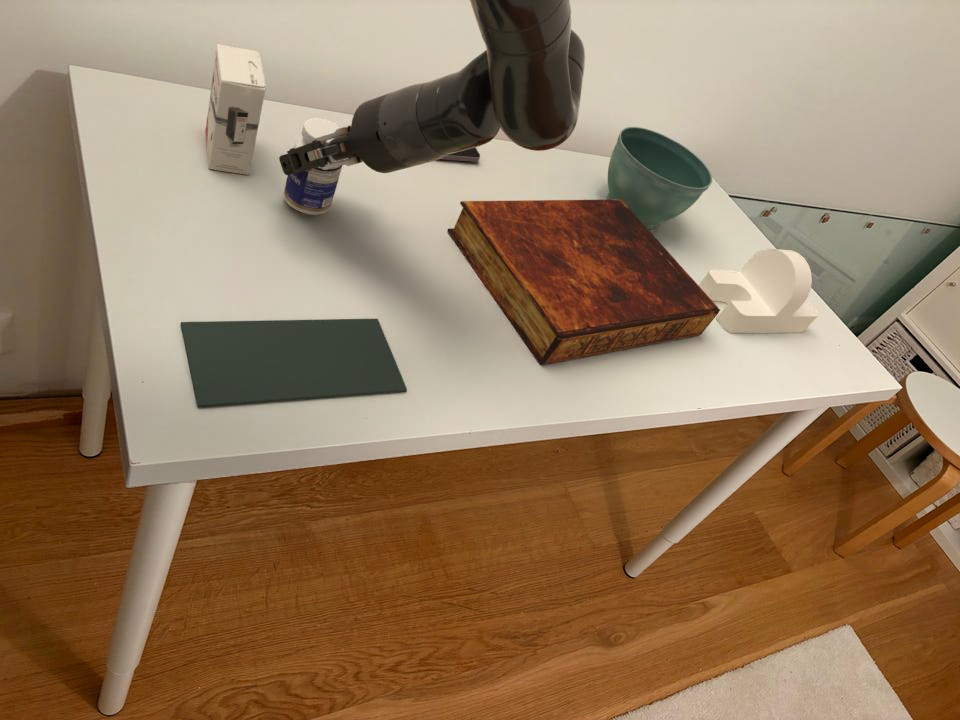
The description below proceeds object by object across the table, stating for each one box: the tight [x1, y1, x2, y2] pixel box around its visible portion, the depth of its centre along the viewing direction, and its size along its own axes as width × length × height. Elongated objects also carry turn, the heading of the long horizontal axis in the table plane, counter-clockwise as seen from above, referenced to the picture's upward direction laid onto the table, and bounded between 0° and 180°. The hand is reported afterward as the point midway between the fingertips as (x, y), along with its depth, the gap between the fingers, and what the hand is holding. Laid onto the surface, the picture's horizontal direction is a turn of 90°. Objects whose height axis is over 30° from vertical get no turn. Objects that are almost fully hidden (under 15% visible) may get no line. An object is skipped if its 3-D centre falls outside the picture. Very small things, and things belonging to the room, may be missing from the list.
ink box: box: [205, 43, 267, 176], centre depth 85 cm, size 9×5×12 cm, turn 17°
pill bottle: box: [283, 117, 345, 216], centre depth 84 cm, size 6×6×10 cm
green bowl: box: [606, 126, 713, 230], centre depth 115 cm, size 16×16×11 cm
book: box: [447, 199, 721, 366], centre depth 96 cm, size 30×24×5 cm
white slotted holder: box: [698, 248, 820, 334], centre depth 108 cm, size 10×18×11 cm, turn 112°
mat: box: [180, 318, 408, 409], centre depth 70 cm, size 20×10×1 cm, turn 114°
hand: (304, 160), depth 84 cm, fingers closed on pill bottle, 5 cm apart
